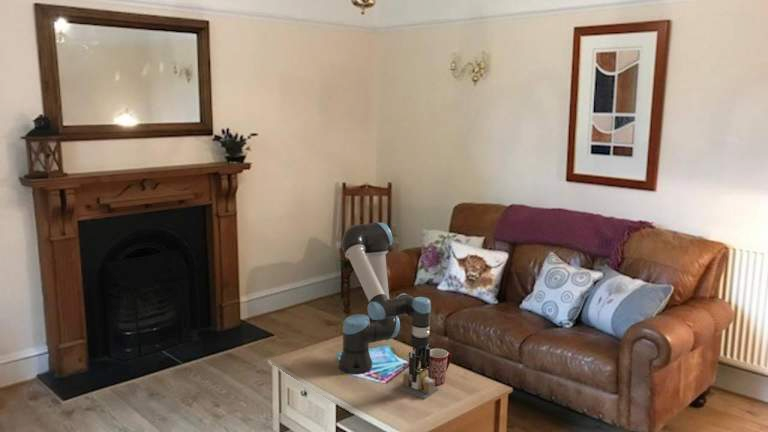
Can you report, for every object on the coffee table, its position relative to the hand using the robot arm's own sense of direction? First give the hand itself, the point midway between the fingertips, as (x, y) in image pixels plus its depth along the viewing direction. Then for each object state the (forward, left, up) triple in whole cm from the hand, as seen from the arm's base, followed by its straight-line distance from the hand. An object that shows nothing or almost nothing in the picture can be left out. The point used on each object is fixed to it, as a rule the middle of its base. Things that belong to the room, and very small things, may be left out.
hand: (418, 386), depth 269 cm
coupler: (0, 0, 0) cm, 0 cm away
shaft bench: (0, 0, -2) cm, 2 cm away
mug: (+2, +13, -2) cm, 13 cm away
